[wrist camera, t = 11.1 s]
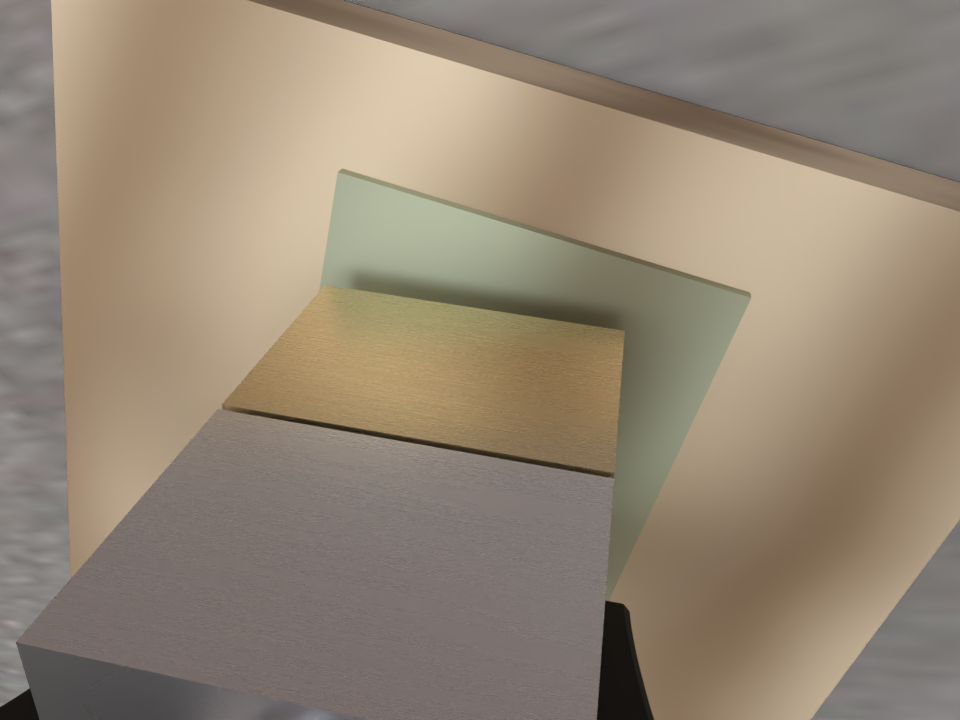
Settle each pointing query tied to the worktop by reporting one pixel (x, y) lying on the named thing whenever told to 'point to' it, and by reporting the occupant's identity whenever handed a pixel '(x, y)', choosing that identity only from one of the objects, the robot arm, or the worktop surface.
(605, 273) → the birch stand
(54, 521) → the worktop surface
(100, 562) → the block
